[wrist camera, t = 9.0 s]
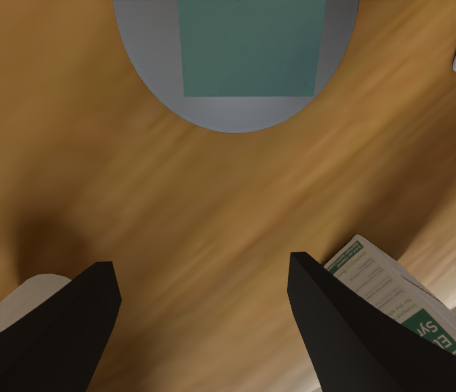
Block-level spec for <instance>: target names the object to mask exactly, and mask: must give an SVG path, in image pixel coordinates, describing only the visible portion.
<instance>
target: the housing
mask: <svg viewBox="0 0 456 392" xmlns="http://www.w3.org/2000/svg"><path fill="white" fill-rule="evenodd" d="M325 2H326V0H178V12H179V27H180V42H181V57H182V72H183V87H184V97H311V96H314V90H315V82H316V74H317V66H318V58H319V50H320V42H321V34H322V26H323V18H324V10H325Z"/></svg>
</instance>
